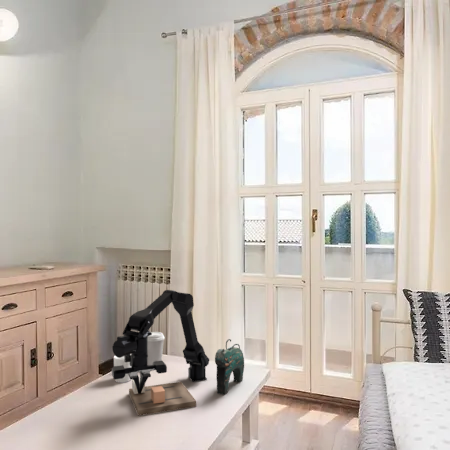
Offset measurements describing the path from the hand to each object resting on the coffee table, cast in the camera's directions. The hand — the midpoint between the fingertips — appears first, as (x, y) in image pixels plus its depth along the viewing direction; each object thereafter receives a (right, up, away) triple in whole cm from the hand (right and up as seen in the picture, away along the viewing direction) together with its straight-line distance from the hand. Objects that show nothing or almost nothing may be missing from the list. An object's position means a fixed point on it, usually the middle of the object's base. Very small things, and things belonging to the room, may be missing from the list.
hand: (139, 393), depth 149 cm
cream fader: (-3, -3, +11) cm, 12 cm away
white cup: (-13, -6, +28) cm, 32 cm away
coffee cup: (-2, -6, +45) cm, 46 cm away
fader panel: (+7, -6, +8) cm, 12 cm away
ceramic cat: (+33, -6, +21) cm, 39 cm away
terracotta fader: (+6, -3, +2) cm, 8 cm away
